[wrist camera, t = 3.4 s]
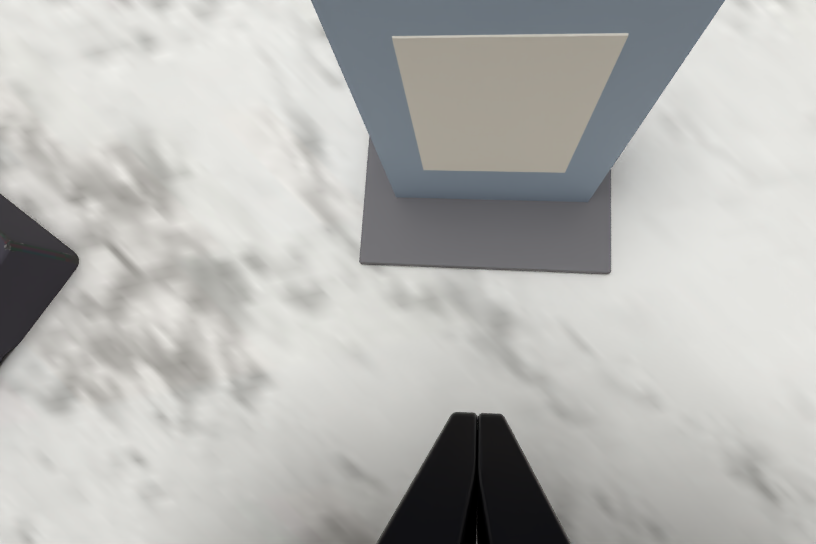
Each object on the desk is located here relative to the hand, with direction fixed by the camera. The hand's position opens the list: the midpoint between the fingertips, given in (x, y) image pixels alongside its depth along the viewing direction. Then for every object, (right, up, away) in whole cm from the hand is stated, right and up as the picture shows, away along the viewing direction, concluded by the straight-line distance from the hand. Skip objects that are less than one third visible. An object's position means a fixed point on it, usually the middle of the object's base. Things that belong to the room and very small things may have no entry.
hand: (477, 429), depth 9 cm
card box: (+2, +7, +11) cm, 13 cm away
